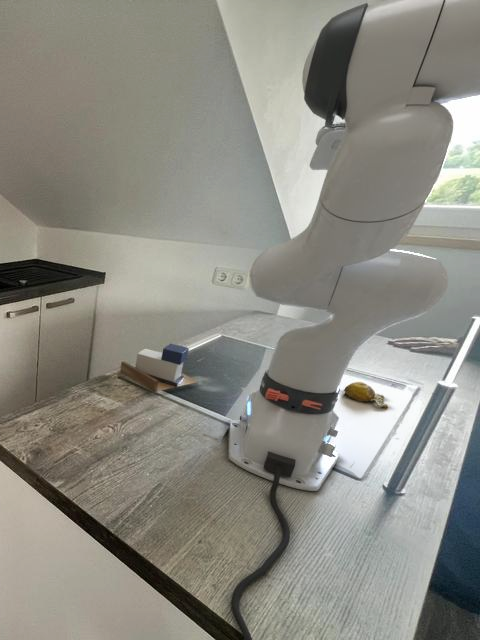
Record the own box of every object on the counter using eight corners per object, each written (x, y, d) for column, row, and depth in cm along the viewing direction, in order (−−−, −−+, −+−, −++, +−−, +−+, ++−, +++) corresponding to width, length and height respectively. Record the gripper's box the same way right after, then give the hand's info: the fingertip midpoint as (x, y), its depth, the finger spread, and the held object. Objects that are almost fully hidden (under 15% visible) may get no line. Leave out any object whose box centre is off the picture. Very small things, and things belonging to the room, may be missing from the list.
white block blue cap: (184, 379, 103) (191, 348, 100) (176, 387, 100) (183, 354, 96) (140, 367, 111) (146, 337, 107) (132, 373, 107) (137, 342, 103)
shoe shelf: (162, 366, 114) (164, 353, 112) (198, 385, 103) (201, 371, 101) (119, 375, 108) (121, 361, 107) (152, 396, 97) (155, 381, 96)
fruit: (389, 410, 92) (395, 396, 90) (344, 400, 96) (349, 387, 94) (382, 396, 98) (388, 383, 96) (340, 387, 102) (345, 375, 101)
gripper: (320, 120, 82) (298, 191, 87) (461, 110, 70) (426, 193, 75) (321, 125, 86) (300, 192, 92) (454, 116, 75) (421, 194, 80)
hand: (358, 193), depth 83 cm, fingers open, 8 cm apart
